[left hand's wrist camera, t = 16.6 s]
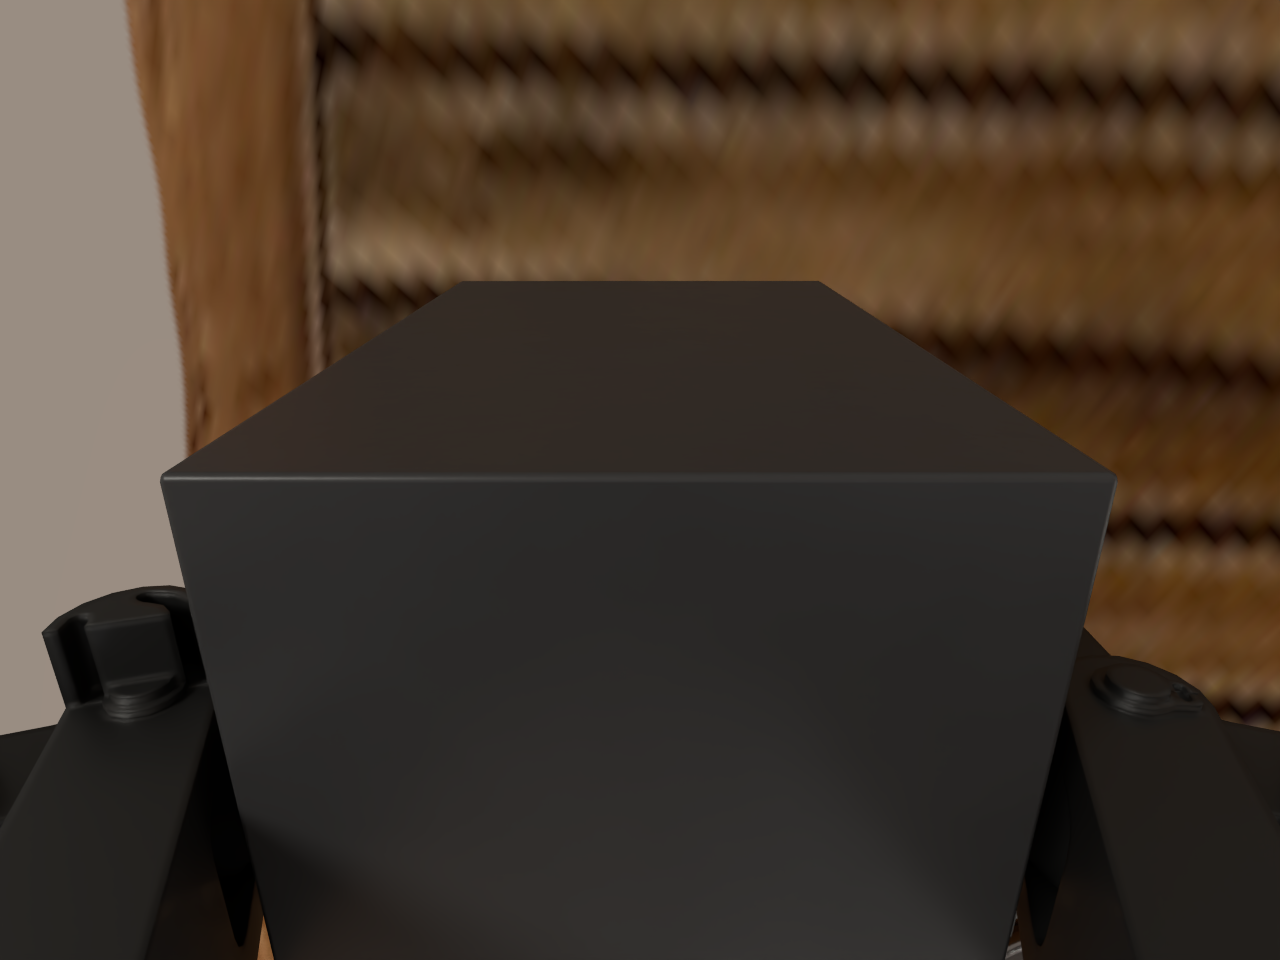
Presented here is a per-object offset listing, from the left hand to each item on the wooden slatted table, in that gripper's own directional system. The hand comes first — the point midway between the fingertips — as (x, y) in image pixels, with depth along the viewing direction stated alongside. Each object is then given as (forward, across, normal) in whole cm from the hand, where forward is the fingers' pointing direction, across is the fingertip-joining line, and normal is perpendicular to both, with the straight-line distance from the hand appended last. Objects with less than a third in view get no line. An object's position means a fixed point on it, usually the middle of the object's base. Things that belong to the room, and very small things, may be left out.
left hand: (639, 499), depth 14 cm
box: (+1, 0, -7) cm, 7 cm away
